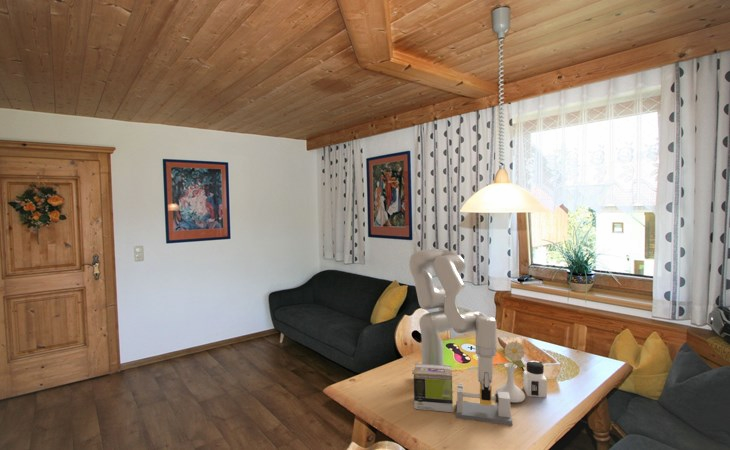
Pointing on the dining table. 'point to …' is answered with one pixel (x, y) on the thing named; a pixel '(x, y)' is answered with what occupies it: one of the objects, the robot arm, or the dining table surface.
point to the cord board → (484, 408)
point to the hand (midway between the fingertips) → (485, 396)
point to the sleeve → (485, 402)
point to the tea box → (433, 387)
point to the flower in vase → (513, 353)
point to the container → (535, 380)
